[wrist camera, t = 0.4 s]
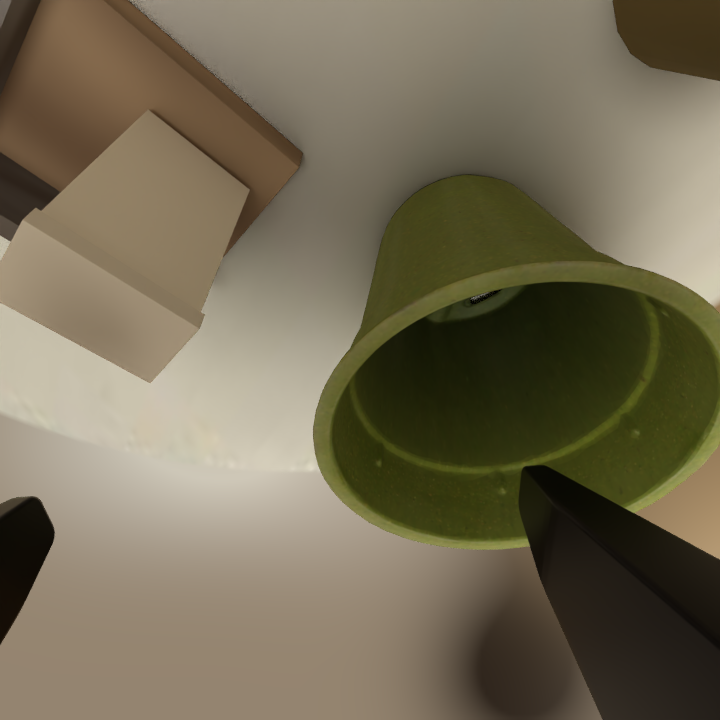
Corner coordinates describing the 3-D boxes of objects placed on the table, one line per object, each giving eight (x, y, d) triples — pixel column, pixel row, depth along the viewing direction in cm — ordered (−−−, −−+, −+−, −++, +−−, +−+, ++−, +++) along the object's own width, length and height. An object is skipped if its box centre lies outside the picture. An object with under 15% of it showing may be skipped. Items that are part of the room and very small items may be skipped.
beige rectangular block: (146, 104, 18) (22, 219, 11) (253, 189, 20) (199, 328, 13) (112, 161, 19) (-17, 293, 13) (216, 235, 21) (150, 383, 15)
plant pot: (483, 381, 29) (533, 580, 20) (287, 289, 25) (247, 488, 16) (662, 205, 22) (848, 394, 14) (432, 41, 18) (490, 162, 10)
